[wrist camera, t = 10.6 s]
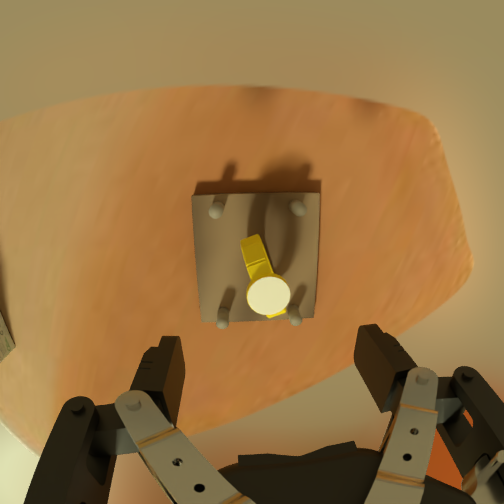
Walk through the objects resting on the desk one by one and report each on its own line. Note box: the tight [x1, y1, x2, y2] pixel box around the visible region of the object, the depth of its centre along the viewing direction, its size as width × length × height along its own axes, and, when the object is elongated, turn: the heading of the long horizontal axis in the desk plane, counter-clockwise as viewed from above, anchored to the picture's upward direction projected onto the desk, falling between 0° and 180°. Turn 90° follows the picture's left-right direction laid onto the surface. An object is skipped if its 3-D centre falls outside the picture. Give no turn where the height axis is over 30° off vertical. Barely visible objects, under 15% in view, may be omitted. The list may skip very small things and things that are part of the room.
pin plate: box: [191, 192, 320, 329], centre depth 23 cm, size 10×11×3 cm
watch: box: [240, 234, 291, 318], centre depth 21 cm, size 6×3×6 cm, turn 20°
